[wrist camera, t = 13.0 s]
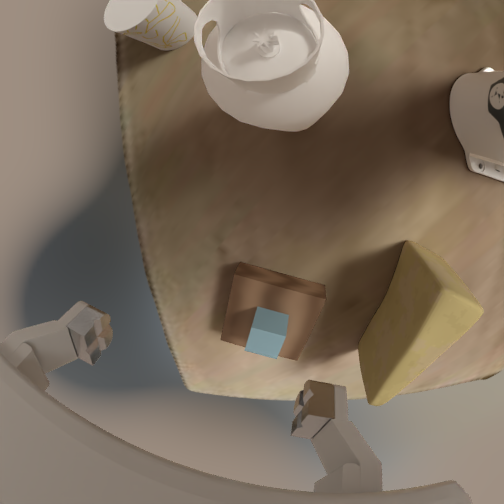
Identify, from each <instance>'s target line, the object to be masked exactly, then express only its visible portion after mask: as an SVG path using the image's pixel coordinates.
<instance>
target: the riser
mask: <svg viewBox="0 0 504 504" xmlns="http://www.w3.org/2000/svg"><path fill="white" fill-rule="evenodd" d="M325 301H326V290H325V285H322V284H318V283H315V282H311V281H307V280H304V279H300V278H297V277H293V276H289V275H286V274H282V273H278V272H275V271H271V270H268V269H264V268H260V267H257V266H253V265H250V264H246V263H243V262H240V263H239V265H238V267H237V269H236V272H235V274H234V278H233V282H232V287H231V292H230V297H229V301H228V306H227V311H226V316H225V321H224V326H223V331H222V335H221V340H223V341H226V342H229V343H232V344H236V345H239V346H243V347H246V344H247V341H248V337H249V334H250V330H251V327H252V324H253V320H254V317H255V313H256V310H257V306H258V307H261V308H265V309H269V310H272V311H276V312H280V313H283V314H287V315H289V318H288V326H287V333H286V338H285V340H284V343H283V345H282V347H281V350H280V352H279V354H278V356H280V357H284V358H288V359H292V360H298V358H299V356H300V354H301V352H302V350H303V348H304V346H305V344H306V342H307V340H308V338H309V336H310V334H311V332H312V330H313V328H314V325H315V323H316V321H317V319H318V317H319V315H320V312H321V310H322V308H323V306H324V303H325Z"/></svg>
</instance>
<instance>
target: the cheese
mask: <svg viewBox="0 0 504 504" xmlns="http://www.w3.org/2000/svg"><path fill="white" fill-rule="evenodd" d="M482 314H483V308H482V306H481V305H480V303H479V302H478V301H477V299H476V298H475V297H474V295H473V294H472V293H471V291H470V290H469V289H468V288H467V286H466V285H465V284H464V282H463V281H462V280H461V279H460V278H459V276H458V275H457V274H456V273H455V272H454V270H453V269H452V268H451V267H450V266H449V265H448V264H447V262H446V261H445V260H444V259H442V258H441V257H440V256H438V255H436V254H435V253H433V252H431V251H429V250H428V249H426V248H424V247H422V246H420V245H419V244H417V243H415V242H412V241H406V242H405V243H404V246H403V249H402V252H401V255H400V258H399V261H398V264H397V267H396V270H395V273H394V276H393V278H392V281H391V284H390V286H389V289H388V291H387V293H386V295H385V298H384V300H383V301H382V303H381V305H380V307H379V308H378V310H377V312H376V313H375V315H374V317H373V318H372V320H371V322H370V323H369V325H368V327H367V329H366V331H365V332H364V334H363V336H362V338H361V340H360V342H359V344H358V352H359V361H360V368H361V373H362V378H363V382H364V386H365V391H366V395H367V400H368V403H369V404H370V405H374V406H380V405H383V404H384V403H386V402H388V401H389V400H390V399H391V398H393V397H394V396H395V395H396V394H398V393H399V392H400V391H401V390H402V389H403V388H405V387H406V386H407V385H408V384H409V383H410V382H412V381H413V380H414V379H415V378H416V377H417V376H419V375H420V374H421V373H422V372H423V371H424V370H425V369H426V368H427V367H428V366H430V365H431V364H432V363H433V362H434V361H435V360H436V359H437V358H438V357H439V356H440V355H441V354H443V353H444V352H445V351H446V350H447V349H448V348H449V347H450V346H451V345H453V344H454V343H455V342H456V341H457V340H458V339H459V338H460V337H461V336H462V335H464V334H465V333H466V332H467V331H468V330H469V329H470V328H471V327H472V326H473V325H474V324H475V322H476V321H477V320H478V319H479V318H480V317H481V316H482Z"/></svg>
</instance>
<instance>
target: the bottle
mask: <svg viewBox="0 0 504 504" xmlns="http://www.w3.org/2000/svg"><path fill="white" fill-rule="evenodd" d="M301 3H302V4H307V5H308V6H310V7H311V8H312V9H313V10H314V11H312V10H310V9H308V8H307V7H305V6H303V5H300V4H301ZM211 20H214V21H216V23H217V25H216V26H215V28H214V29H213V30H212V31H211V33H210V34H209V35H208V38H207V41H206V43H205V46H204V49H203V46H202V28H203V27H204V25H205V24H206V23H207V22H209V21H211ZM194 42H195V45H196V47H197V50H198V52H199V55H200V56H201V57H202V78H203V80H204V83H205V86H206V89H207V91H208V94H209V95H210V96H211V97H212V99H213V100H214V101H215V102H216V103H217V105H218V106H219V107H220V108H221V110H223V111H224V112H226V113H228V114H229V115H231V116H232V117H234V118H235V119H237V120H238V121H240V122H243V123H247V124H250V125H254V126H257V127H261V128H266V129H274V130H281V131H290V132H298V131H301V130H305V129H307V128H309V127H310V126H312V125H313V124H314V123H315V122H317V121H318V120H319V119H320V118H321V117H322V116H323V115H324V114H325V113H326V112H327V111H328V110H329V109H330V108H331V106H332V105H333V104H334V103H335V102H336V100H337V99H338V98H339V97H340V95H341V94H342V93H343V90H344V87H345V84H346V81H347V78H348V75H349V62H348V52H347V49H346V47H345V45H344V42H343V40H342V38H341V36H340V34H339V33H338V31H337V30H336V29H335V28H334V27H333V26H332V25H331V24H330V23H329V22H328V21H327V20H326V19H325V18H324V17H323V16H322V14H321V12H320V10H319V8H318V7H317V5H316V3H315V2H314V1H313V0H209V1H208V2H207V3H206V4H205V6H204V7H203V8H202V9H201V10H200V13H199V15H198V18H197V20H196V23H195V25H194Z"/></svg>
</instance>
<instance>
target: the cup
mask: <svg viewBox="0 0 504 504" xmlns="http://www.w3.org/2000/svg"><path fill="white" fill-rule="evenodd" d="M196 20H197V16H196V14H195V13H194V12H193V11H192V10H191V9H190V8H189V7H187V6H186V5H185V4H184V3H183V2H182V1H180V0H110V1H109V3H108V5H107V7H106V10H105V13H104V22H105V25H106V27H107V28H108V29H110V30H112V31H114V32H117V33H120V34H123V35H126V36H128V37H131V38H134V39H136V40H139V41H141V42H144V43H146V44H148V45H151V46H153V47H155V48H158V49H160V50H174V49H177V48H179V47H181V46H183V45H184V44H186V43H187V42H188V41H189V40H190V39H191V38H192V37H193V36H194V25H195V23H196Z"/></svg>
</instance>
